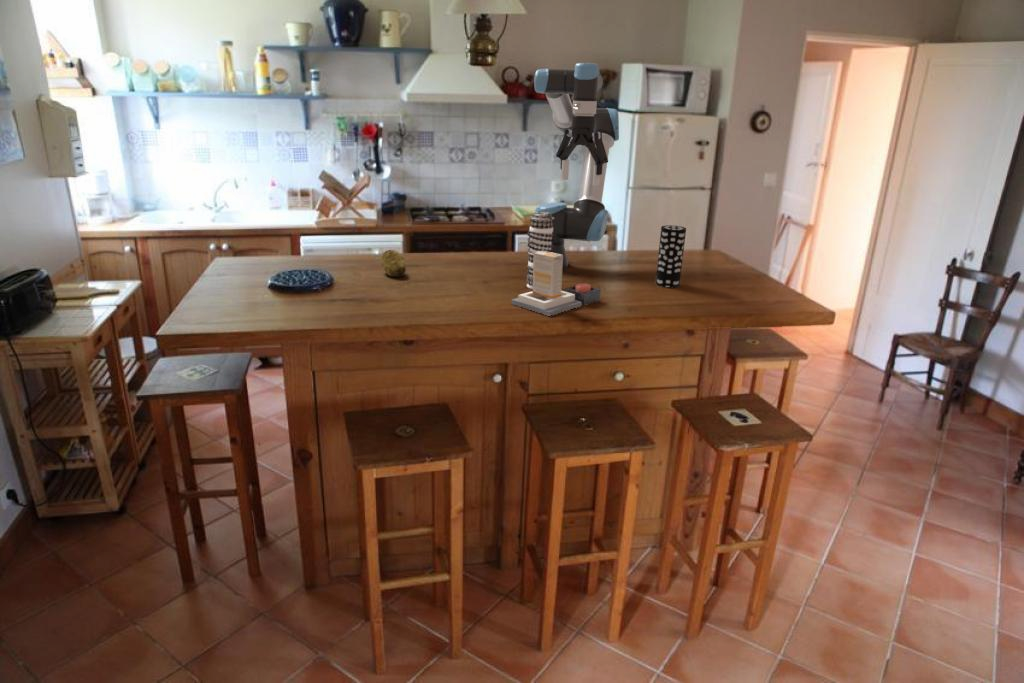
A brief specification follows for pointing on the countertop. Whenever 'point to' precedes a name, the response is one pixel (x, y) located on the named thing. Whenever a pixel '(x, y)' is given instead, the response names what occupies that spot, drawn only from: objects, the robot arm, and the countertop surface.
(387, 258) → the potato
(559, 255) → the supplement box
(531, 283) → the decorative candle
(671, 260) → the spotted tube
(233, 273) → the countertop surface
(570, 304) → the plate
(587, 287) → the button
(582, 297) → the button housing
